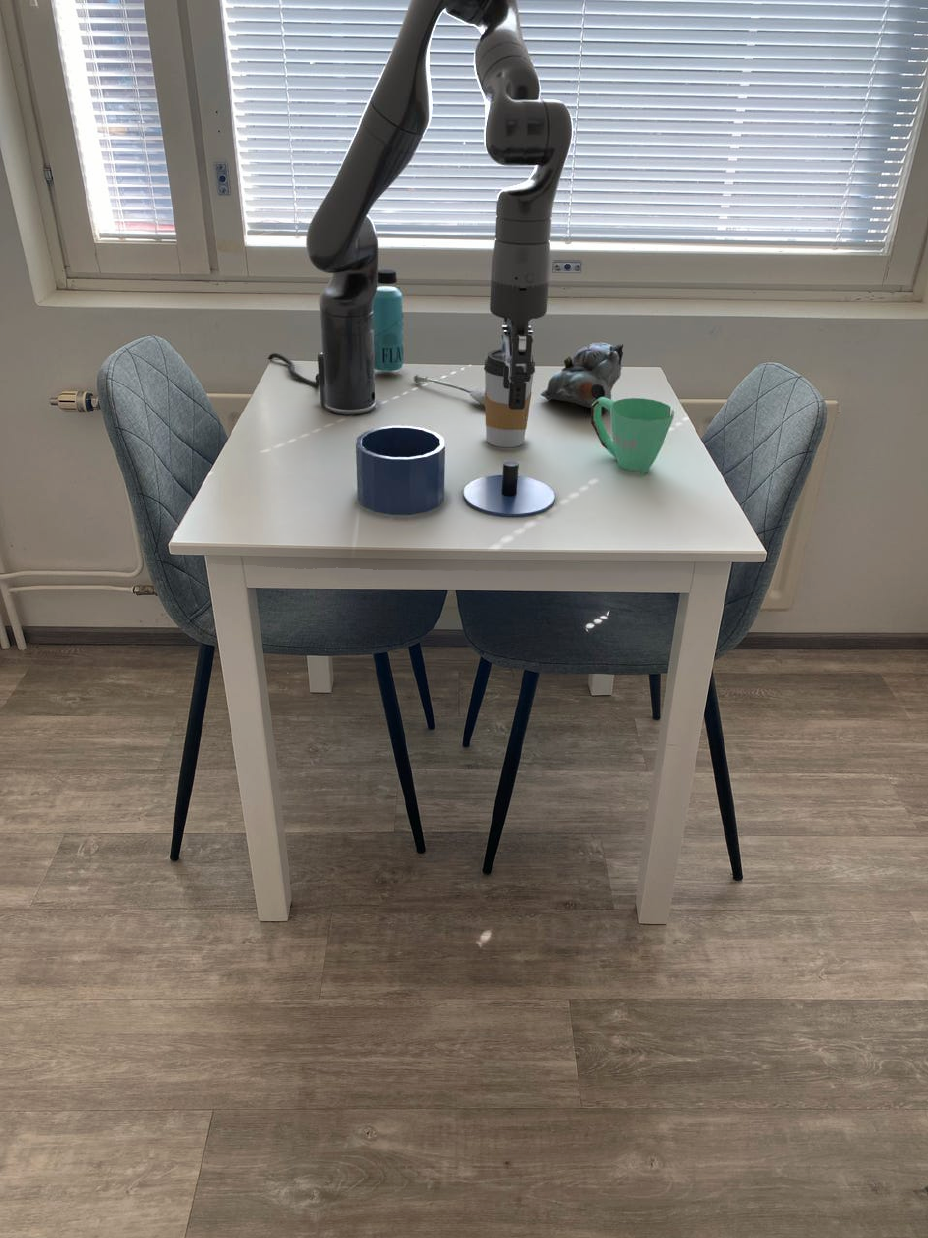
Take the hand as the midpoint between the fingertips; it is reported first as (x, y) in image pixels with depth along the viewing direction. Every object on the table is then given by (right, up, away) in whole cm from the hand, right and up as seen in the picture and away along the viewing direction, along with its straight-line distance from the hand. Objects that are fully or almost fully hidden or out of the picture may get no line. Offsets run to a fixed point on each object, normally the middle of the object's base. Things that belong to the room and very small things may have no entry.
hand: (513, 398), depth 125 cm
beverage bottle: (-22, +19, +57) cm, 64 cm away
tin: (-16, -13, +8) cm, 22 cm away
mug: (+19, -6, +22) cm, 29 cm away
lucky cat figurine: (+15, +9, +45) cm, 48 cm away
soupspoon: (-8, +12, +47) cm, 49 cm away
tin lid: (0, -13, +8) cm, 15 cm away
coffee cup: (0, -1, +27) cm, 27 cm away
